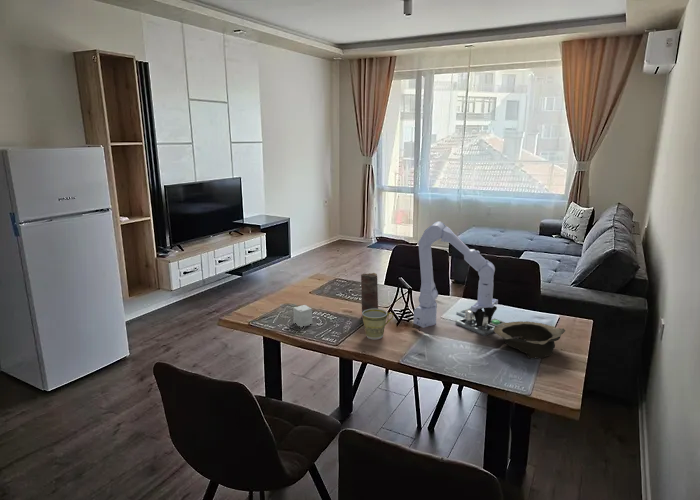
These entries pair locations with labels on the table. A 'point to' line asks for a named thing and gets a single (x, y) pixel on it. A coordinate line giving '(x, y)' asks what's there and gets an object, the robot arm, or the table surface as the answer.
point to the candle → (369, 291)
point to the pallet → (475, 327)
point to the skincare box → (302, 315)
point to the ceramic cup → (375, 322)
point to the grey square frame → (462, 312)
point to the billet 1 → (469, 317)
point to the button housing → (495, 324)
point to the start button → (496, 322)
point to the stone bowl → (530, 337)
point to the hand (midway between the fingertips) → (483, 324)
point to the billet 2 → (484, 324)
